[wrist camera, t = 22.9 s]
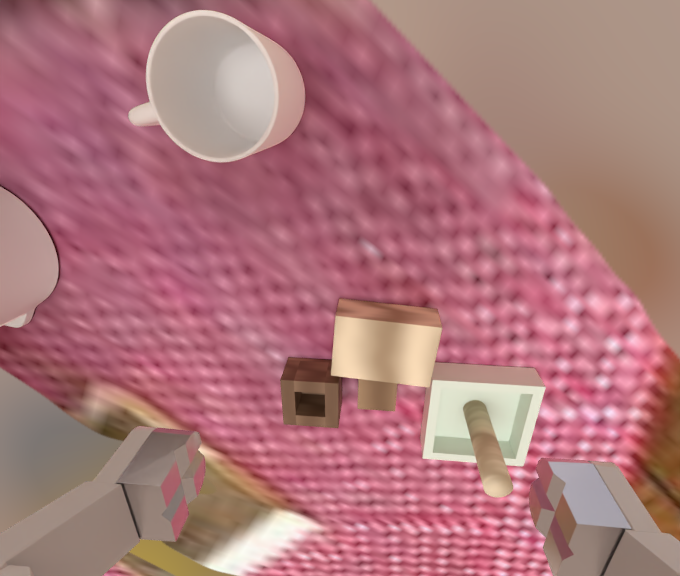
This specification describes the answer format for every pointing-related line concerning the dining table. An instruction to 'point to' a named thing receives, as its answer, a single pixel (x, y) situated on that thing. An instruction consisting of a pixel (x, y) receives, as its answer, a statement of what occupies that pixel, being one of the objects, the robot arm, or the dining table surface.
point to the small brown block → (376, 395)
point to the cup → (220, 87)
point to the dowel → (487, 450)
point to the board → (385, 342)
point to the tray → (501, 402)
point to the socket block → (311, 393)
